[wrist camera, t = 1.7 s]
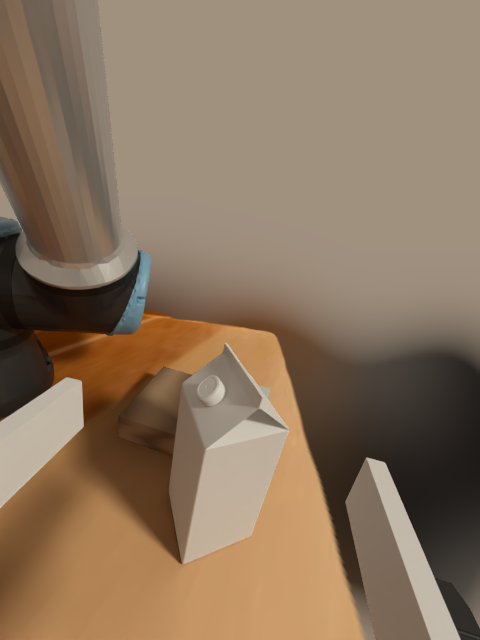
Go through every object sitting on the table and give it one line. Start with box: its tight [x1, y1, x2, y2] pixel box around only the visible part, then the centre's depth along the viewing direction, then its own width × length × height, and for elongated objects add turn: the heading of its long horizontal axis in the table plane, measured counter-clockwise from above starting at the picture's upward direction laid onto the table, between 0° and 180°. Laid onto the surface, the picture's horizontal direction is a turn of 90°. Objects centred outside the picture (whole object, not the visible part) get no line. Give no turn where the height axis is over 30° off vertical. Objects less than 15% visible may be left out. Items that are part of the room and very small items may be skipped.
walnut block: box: [118, 367, 192, 455], centre depth 38 cm, size 12×12×4 cm
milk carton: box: [169, 343, 289, 564], centre depth 24 cm, size 7×7×19 cm
